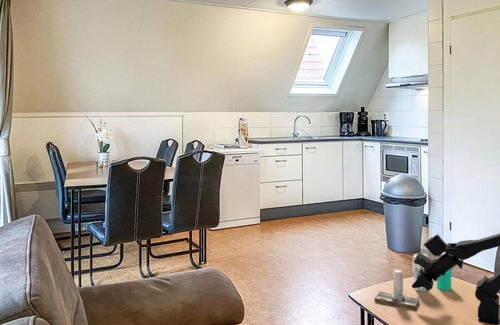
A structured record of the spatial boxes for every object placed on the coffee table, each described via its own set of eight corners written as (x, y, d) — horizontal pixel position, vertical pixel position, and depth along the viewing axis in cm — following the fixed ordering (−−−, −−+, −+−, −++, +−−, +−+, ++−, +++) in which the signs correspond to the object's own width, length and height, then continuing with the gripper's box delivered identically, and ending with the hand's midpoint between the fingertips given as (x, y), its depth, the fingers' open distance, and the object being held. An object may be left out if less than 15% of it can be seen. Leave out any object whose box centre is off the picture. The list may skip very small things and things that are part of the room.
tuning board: (419, 302, 175) (419, 298, 175) (415, 310, 168) (415, 305, 168) (379, 294, 183) (379, 291, 183) (374, 301, 177) (374, 297, 177)
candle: (452, 290, 186) (453, 264, 184) (438, 290, 187) (438, 263, 186) (449, 285, 191) (450, 259, 190) (435, 284, 193) (435, 259, 191)
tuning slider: (404, 296, 177) (404, 270, 175) (400, 302, 171) (401, 275, 170) (394, 294, 179) (394, 268, 178) (390, 300, 173) (391, 273, 172)
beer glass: (408, 286, 191) (409, 254, 190) (421, 284, 193) (422, 252, 192) (419, 292, 185) (419, 259, 183) (432, 290, 187) (432, 257, 185)
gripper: (431, 242, 175) (403, 264, 182) (423, 255, 160) (392, 278, 166) (451, 263, 172) (422, 285, 179) (445, 279, 156) (413, 301, 163)
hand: (412, 286), depth 172 cm, fingers closed
